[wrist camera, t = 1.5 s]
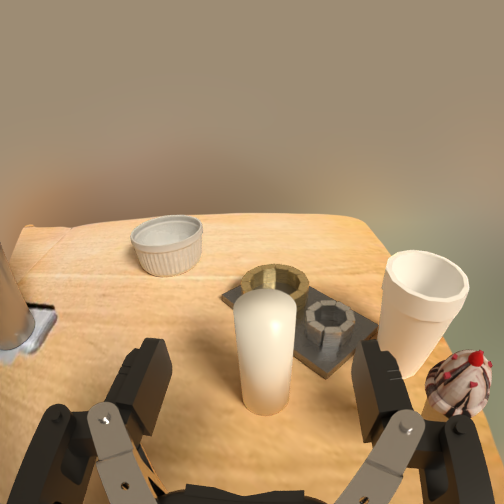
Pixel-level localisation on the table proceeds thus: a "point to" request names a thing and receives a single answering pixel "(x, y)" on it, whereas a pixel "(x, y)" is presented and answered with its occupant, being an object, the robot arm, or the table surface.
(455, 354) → the ice cream cone
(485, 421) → the table surface
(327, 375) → the grey ring holder base
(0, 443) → the table surface
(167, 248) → the ramekin
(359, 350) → the robot arm
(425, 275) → the foam cup
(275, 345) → the white rounded cylinder
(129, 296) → the table surface
